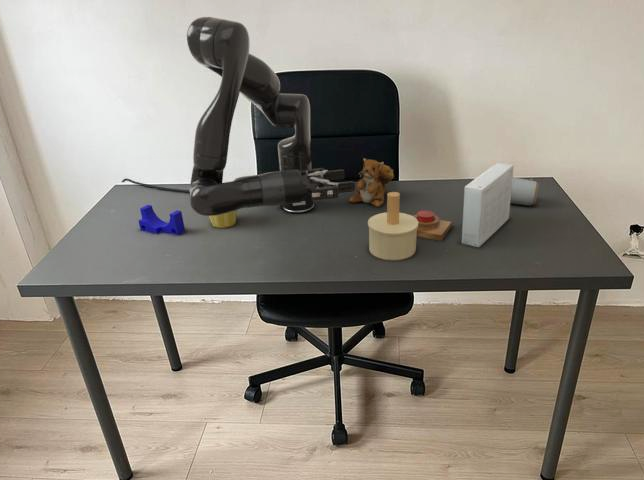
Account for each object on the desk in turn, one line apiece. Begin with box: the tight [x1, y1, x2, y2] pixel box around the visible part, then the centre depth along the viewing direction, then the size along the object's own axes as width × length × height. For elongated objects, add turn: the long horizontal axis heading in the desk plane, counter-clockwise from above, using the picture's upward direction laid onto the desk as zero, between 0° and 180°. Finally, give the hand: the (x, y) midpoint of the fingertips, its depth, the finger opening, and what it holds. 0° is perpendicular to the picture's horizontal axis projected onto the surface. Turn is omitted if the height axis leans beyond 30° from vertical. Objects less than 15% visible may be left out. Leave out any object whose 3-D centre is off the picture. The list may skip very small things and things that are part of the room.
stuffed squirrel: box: [348, 157, 395, 208], centre depth 165 cm, size 10×14×13 cm
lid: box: [367, 191, 418, 235], centre depth 134 cm, size 13×13×9 cm
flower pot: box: [208, 210, 238, 229], centre depth 153 cm, size 10×10×10 cm
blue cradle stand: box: [138, 204, 186, 236], centre depth 151 cm, size 12×4×6 cm, turn 65°
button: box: [417, 210, 435, 223], centre depth 147 cm, size 4×4×2 cm
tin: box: [368, 227, 418, 261], centre depth 138 cm, size 12×12×7 cm
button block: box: [410, 213, 452, 242], centre depth 148 cm, size 12×9×4 cm
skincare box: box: [461, 162, 515, 248], centre depth 143 cm, size 21×6×16 cm, turn 145°
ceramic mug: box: [510, 176, 540, 206], centre depth 162 cm, size 11×8×8 cm
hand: (349, 179), depth 127 cm, fingers open, 8 cm apart
